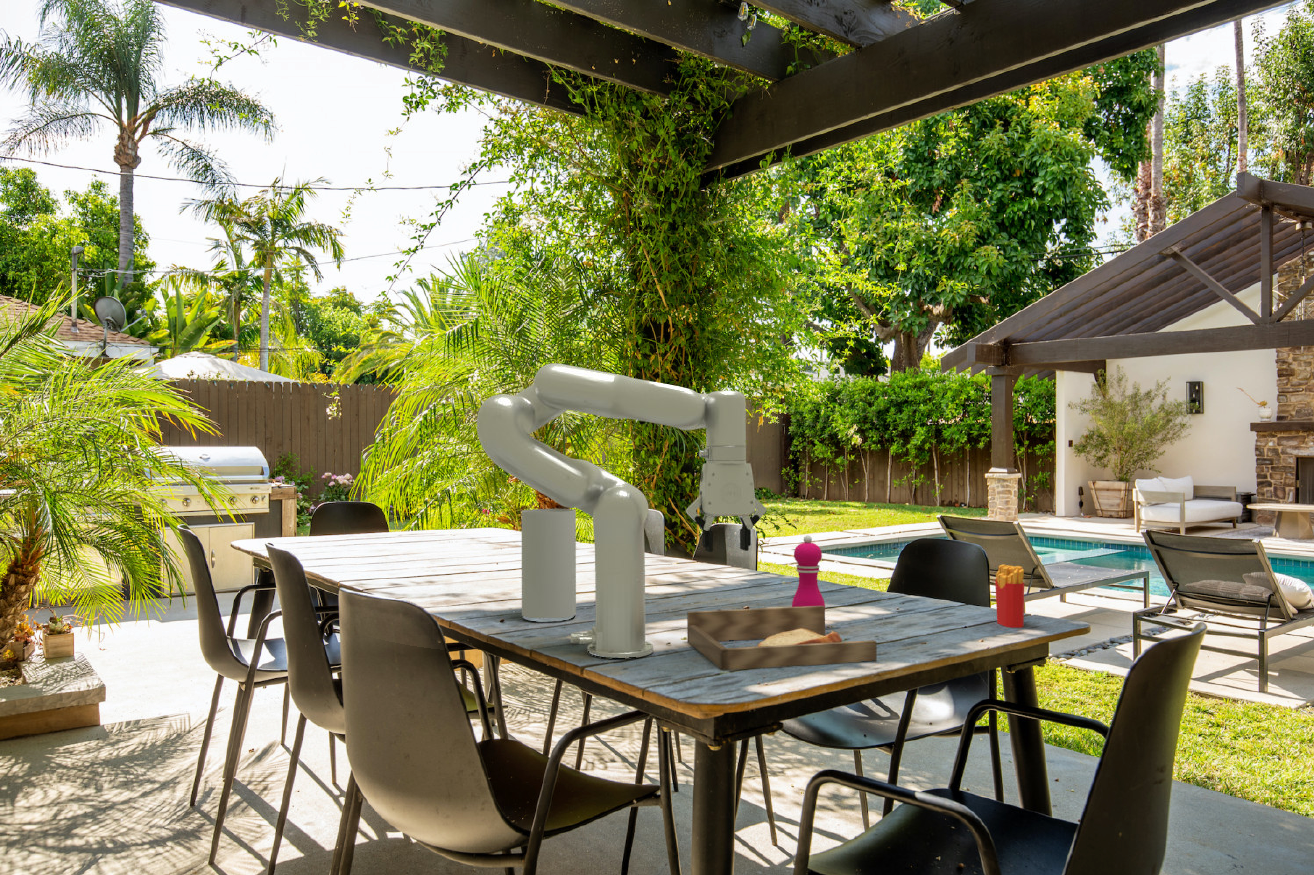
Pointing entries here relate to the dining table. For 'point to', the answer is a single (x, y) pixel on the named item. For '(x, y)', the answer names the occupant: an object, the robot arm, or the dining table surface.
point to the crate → (766, 623)
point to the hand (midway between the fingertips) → (726, 549)
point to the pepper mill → (807, 574)
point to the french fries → (1010, 596)
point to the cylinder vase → (548, 563)
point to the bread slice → (799, 638)
